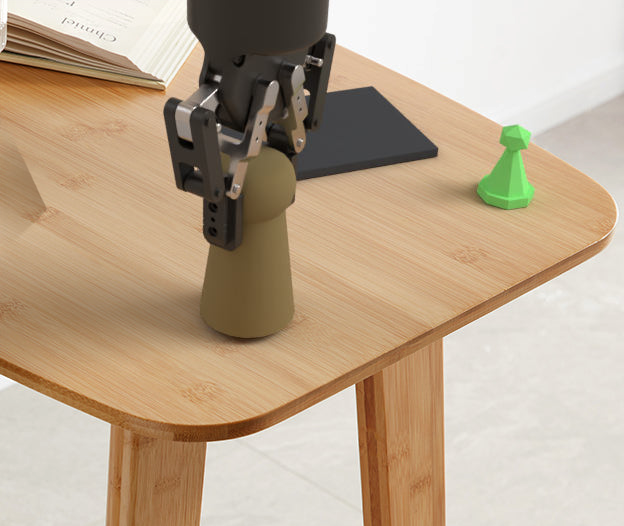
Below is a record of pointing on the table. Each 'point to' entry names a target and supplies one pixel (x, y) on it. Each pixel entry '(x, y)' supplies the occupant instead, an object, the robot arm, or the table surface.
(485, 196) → the game piece
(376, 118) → the back mat
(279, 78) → the robot arm
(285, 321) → the olive brown pawn
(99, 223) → the table surface
